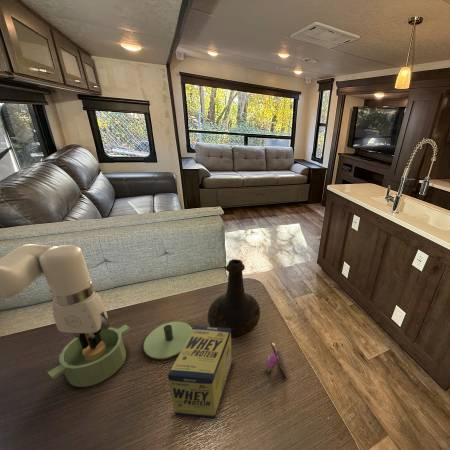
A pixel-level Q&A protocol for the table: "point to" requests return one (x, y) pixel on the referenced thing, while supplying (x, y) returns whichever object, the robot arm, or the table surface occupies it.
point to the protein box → (201, 372)
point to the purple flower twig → (274, 360)
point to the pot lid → (167, 340)
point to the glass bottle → (235, 305)
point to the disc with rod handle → (93, 350)
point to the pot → (96, 369)
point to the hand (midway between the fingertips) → (92, 344)
